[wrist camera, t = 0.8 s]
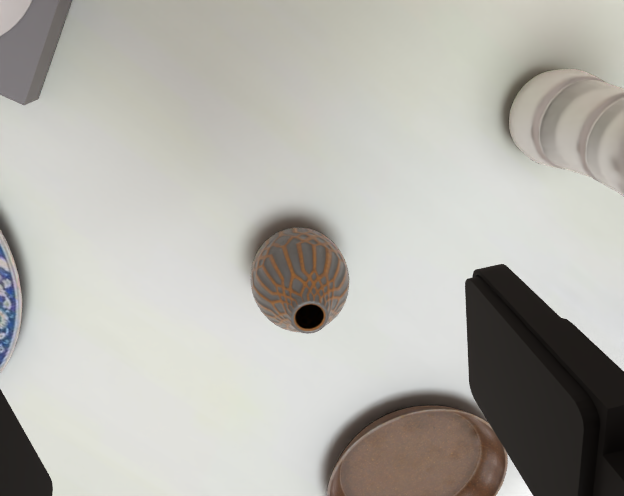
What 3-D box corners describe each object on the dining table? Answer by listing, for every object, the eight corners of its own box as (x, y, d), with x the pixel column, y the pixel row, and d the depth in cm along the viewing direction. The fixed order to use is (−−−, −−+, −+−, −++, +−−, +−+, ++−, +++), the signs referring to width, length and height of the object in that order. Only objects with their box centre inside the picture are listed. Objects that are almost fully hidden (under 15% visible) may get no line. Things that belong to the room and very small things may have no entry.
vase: (233, 274, 40) (233, 339, 32) (277, 199, 38) (289, 249, 30) (309, 308, 42) (327, 377, 34) (354, 239, 40) (385, 295, 32)
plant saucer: (511, 384, 49) (528, 406, 46) (476, 514, 56) (489, 540, 53) (328, 393, 46) (334, 417, 43) (316, 528, 53) (321, 556, 51)
